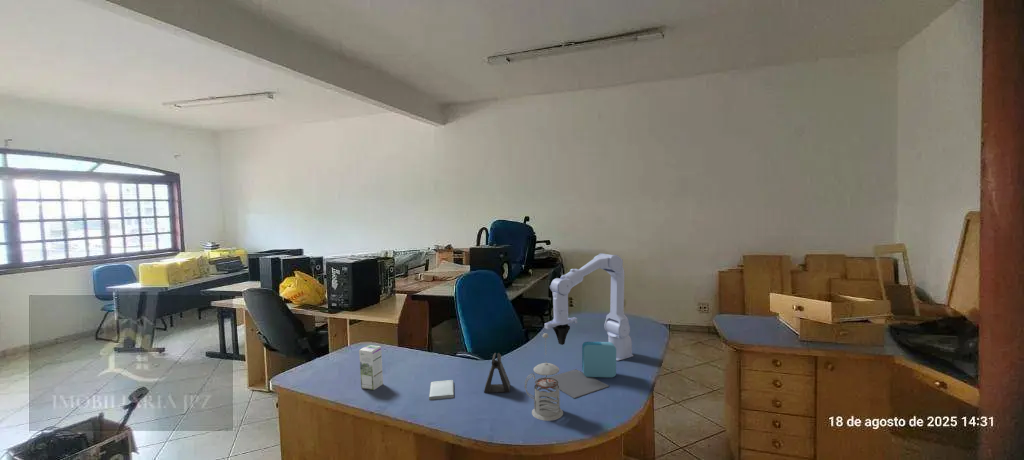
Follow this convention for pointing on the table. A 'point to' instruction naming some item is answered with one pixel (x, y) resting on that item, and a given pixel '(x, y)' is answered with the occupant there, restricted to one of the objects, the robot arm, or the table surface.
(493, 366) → the phone stand
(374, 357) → the syrup box
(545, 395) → the french press
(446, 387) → the hard drive
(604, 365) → the data package
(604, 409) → the table surface
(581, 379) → the mat
